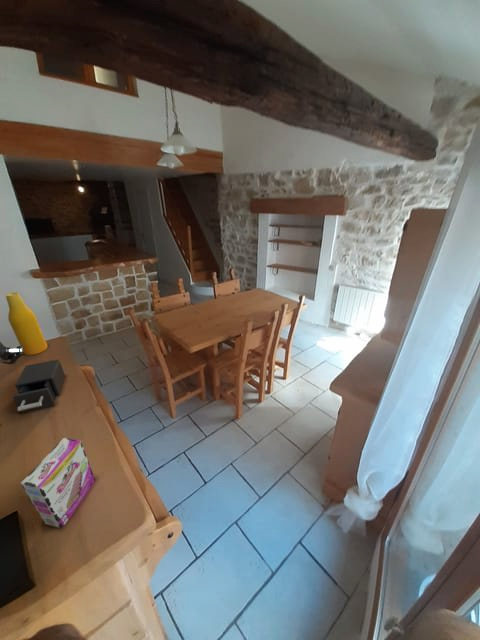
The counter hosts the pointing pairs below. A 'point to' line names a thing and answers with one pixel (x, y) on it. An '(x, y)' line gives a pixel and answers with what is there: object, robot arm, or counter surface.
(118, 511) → the counter surface
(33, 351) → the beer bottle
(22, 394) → the drawer
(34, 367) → the dark grey cabinet
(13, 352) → the robot arm
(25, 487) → the candy bar box
